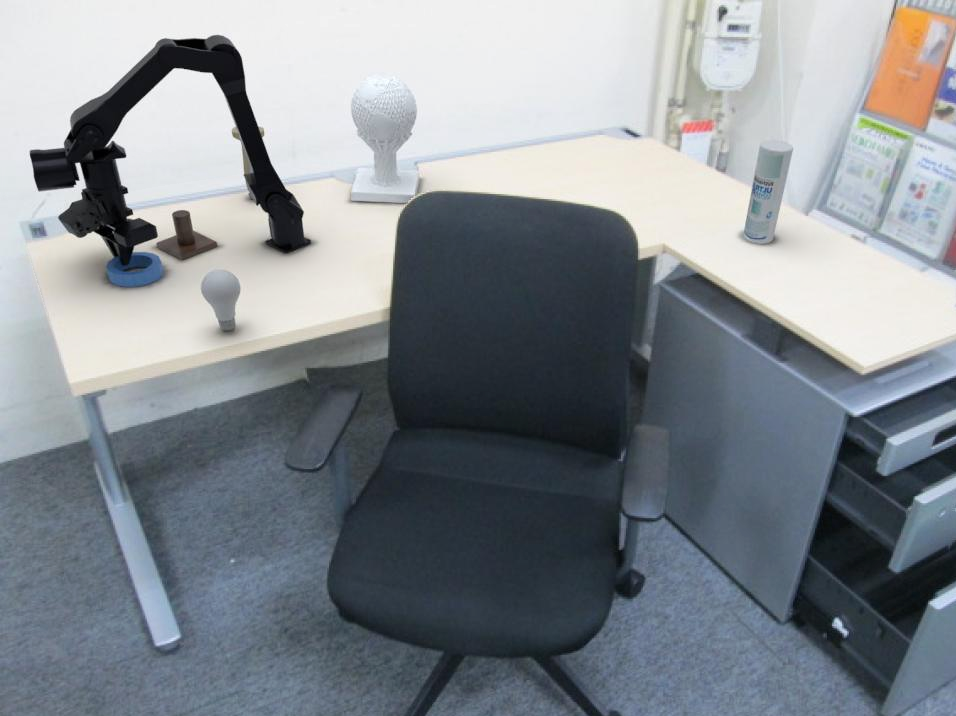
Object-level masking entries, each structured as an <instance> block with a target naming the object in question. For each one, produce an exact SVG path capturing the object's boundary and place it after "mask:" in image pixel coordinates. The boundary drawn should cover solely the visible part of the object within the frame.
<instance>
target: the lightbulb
mask: <svg viewBox="0 0 956 716" xmlns="http://www.w3.org/2000/svg"><path fill="white" fill-rule="evenodd" d="M241 289H242V288H241V283H240V281H239V279H238V277H237V276H236V275H235V274H234V273H232V272H231V271H229V270H226V269H214V270H212V271H210V272H208V273H206V275H205V276H204V277H203V278H202V280H201V284H200V291H201V294H202V297H203V298H204V299H205V301H206V302H207V304H209V306H211V308H212V309H213V312H214V314H215V318H216V319H217V322H218V325H219V328H220V330H222V331H226V332H229V331H232V330H233V329H235V327H236V318H235V317H236V306H237V302H238V300H239V298H240V295H241Z"/></svg>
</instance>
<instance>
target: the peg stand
mask: <svg viewBox="0 0 956 716" xmlns="http://www.w3.org/2000/svg"><path fill="white" fill-rule="evenodd" d="M171 217H172V222H173V226H174V227H173V228H174V231H175V235H174V236H170V237H168V238H165V239H163V240H160V241H157V242H156V244H155V245H156V248H158V249H159V250H161V251H163V252H165V253H168V254H169V255H172V256H173V257H175V258H177V259H179V260H181V261H184V260H186V259H189V258H191V257H194V256H196V255H199V254H201V253H204V252H206V251H209V250H212V249H214V248H217V247H218V242H217V241H216V240H214V239H212V238H210V237H207V236H205V235H203V234H202V233H199V232H197V231H194V228H193V221H192V216H191V212H190V211H189V210H186V209H178V210H175V211H173V212H172V213H171Z"/></svg>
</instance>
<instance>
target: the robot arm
mask: <svg viewBox="0 0 956 716" xmlns="http://www.w3.org/2000/svg"><path fill="white" fill-rule="evenodd" d="M175 69H182V70H186V71H187V70H188V71H191V72H198V73H204V74H212V76H213V78H214V79H215V81H216V83H217V84H218V85H217V86H218V87H219V89H220V90H221V91H222V93H223V96H224V98H225V102H226V104H227V107H228V109H229V113H230V115H231V117H232V120H233V123H234V127H236V128H237V131H238V134H239V137H240V139H241V141H240V143H241V142H242V145H243V147H244V150H245V153H246V155H247V158H248V161H249V164H250V173H249V174H244V173H243V177H244V180H245V179H246V181H247V183H248V185H249V188H250V190H249V191H248V193H250V194H251V196H252V198H253V199H252V200H253V202H254V204H255V205H256V206H257V207H258V206H260V208H261V210H262V211H263V212H264V213H266V214H267V216H268V219H267V221H268V227H269V235H270V238H268V239H266V240H265V241H264V242H265V243H264V244H265V245H268V246H270V247H272V248H273V249H276V250H278V251H280V252H282V253H285V254H288V253H290V252H293V251H295V250H298V249H300V248H302V247H305V246H308V245H309V244H311V243H312V240H311V238H308V237H305V234H304V233H305V231H304V225H303V224H304V223H303V217H304V214H305V211H304V210H303V208H302V206H301V205H300V203H299V201H298V200H297V198H296V196H295V194H293V193H292V192H290V191H289V190H288V189H286V188H287V187H285V185H284V183H283V181H282V180H281V178H280V176H279V174H278V173H277V171H276V169H275V167H274V166H273V164H272V162H271V158H270V156H269V153H268V149H267V147H266V145H265V141H264V139H263V137H262V136H261V133H260V130H259V127H260V126H259V125H258V122H257V119H256V117H255V114H254V111H253V107H252V105H251V102H250V99H249V96H248V93H247V87H246V86H247V85H246V75H245V74H246V73H245V68H244V63H243V58H242V55H241V53H240V51H239V50H238V49H237V47H236V46H235V44H234V42H232V40H231V39H229V38H228V37H226V36H225V35H220V34H213V35H210V36H208V37H206V38H199V37H198V38H197V37H192V38H191V37H190V38H180V39H176V38H167V37H164V38H161V39H159V40H158V41H157V42H156V43H155V45H154V47H153V48H152V49H150V51H148V52H147V53H146V54H145V55H144V56H143V57H142V58H141V59H140V60H139V61H138V62H137V63H136V64H135V65H134V66H133V67H132V68H131V69H130V70H128V72H126V73H125V75H123V76H122V77H121V78H120V79H119V80H118V81H117V82H116V83H115V84H114V85H113V86H112V87H111V88H110V89H108V90H107V91H106V92H104V93H103V94H101V95H99V96H97V97H94V98H92V99H90V100H89V101H87V102H85V103H83V104H82V105H81V106H79V107H78V108H76V109H75V110H74V111H73V112H72V114H71V115H70V118H69V123H70V130H69V131H68V134H67V135H66V138H65V139H64V141H63V147H58V148H49V149H48V148H47V149H38V148H36V149H30V150H29V157H30V162H31V166H32V172H33V173H32V174H33V179H34V182H35V185H36V186H35V187H36V190H37V191H38V192H47V191H56V190H65V189H66V190H67V189H73V188H75V186H77V182H80V181H81V180H80V175H79V171H78V166H77V164H79V166H80V169H81V173H82V177H83V181H84V185H85V188H82V189H81V192H80V195H81V199H78V200H75V201H72V202H71V204H70V205H69V207H68V208H66V210H64V211H63V212H61V213H60V214H59V215H58V217H57V219H58V221H60V223H61V224H62V226H63V227H64V228H65V230H66V231H67V232H68V233H69V234H71V235H73V236H75V237H76V238H78V239H82V238H85V237H86V236H88V234H92V233H95V234H97V235H98V236H100V237H101V239H102V241H103V242H104V243H105V245H106V247H107V248H108V250H109V252H110V254H111V255H112V257H113V258H114V257H117V256H119V258H120V261H121V263H122V265H123V266H126V265H128V264H129V262H130V259H131V256H132V252H134V248H135V246H139V245H142V244H144V243H146V242H150V241H152V240H155V239H157V238H159V233H158V229H157V226H156V225H154V224H153V223H151V222H149V221H147V220H145V219H143V218H141V217H137V218H135V219H133V218H128V217H131V216H134V211H133V209H132V208H131V207H128V206H127V201H126V198H125V195H128V194H129V189H128V187H127V186H125V185H122V180H121V176H120V171H119V168H118V164H117V160H119V159H126V158H127V152H126V149H125V148H124V147H123V146H121V145H119V144H118V143H116V142H115V140H112V139H113V137H114V136H115V135H116V133H117V132H118V129H119V127H120V126H121V124H122V122H123V120H124V118H125V117H126V116H127V114H128V113H130V111H131V110H132V109H133V108H134V107H136V105H138V103H139V102H140V101H142V100H143V99H144V98H145V97H146V96H147V95H148V94H149V93H150V92H151V91H152V90H153V89H154V88H155V87H156V86H157V85H159V83H160V82H162V81H163V79H165V78H166V77H167V76H168V75H169V74H170V73H171V72H172V71H173V70H175ZM242 145H241V146H242ZM246 181H245V182H246Z"/></svg>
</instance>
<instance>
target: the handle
mask: <svg viewBox="0 0 956 716" xmlns="http://www.w3.org/2000/svg"><path fill="white" fill-rule="evenodd" d="M258 127H259V130H260V133H261V136H262V138H264V137H265V129H264V127H262V126H258ZM231 135H232V138H234V139H236V140H238V141H240V144H241V151H242V164H243V165H242V166H243V175H244V174H249V173H250V164H249V161H248V158H247V155H246V153H245V150H244V147H243V145H242V142H241V139H240V137H239V134H238V131H237V128H236V126H234V127H233V128H231ZM244 180H245V185H246V188H247V191H248V197H249V199H250V200H253V198H252V196H251V194H250V192H249V190H250V188H249V185H248V183H247V181H246V179H245V178H244Z"/></svg>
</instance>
